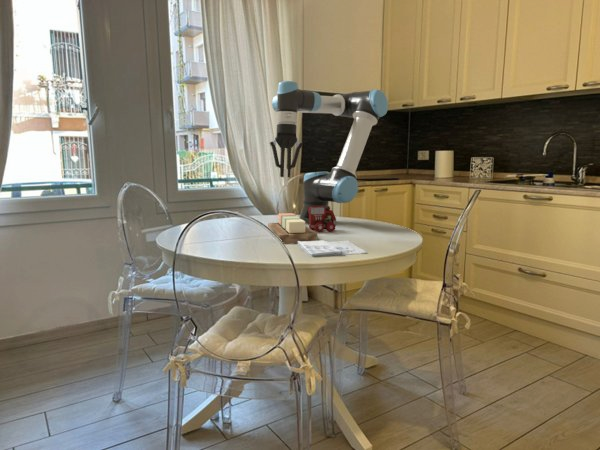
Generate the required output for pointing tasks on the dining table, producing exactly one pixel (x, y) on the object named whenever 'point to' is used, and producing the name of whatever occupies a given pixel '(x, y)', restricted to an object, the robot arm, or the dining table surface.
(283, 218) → the pale green square block
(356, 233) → the dining table surface
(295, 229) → the cream yellow square block
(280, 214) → the salmon orange square block
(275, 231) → the board
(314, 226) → the toy fire truck
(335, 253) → the printed paper napkins
